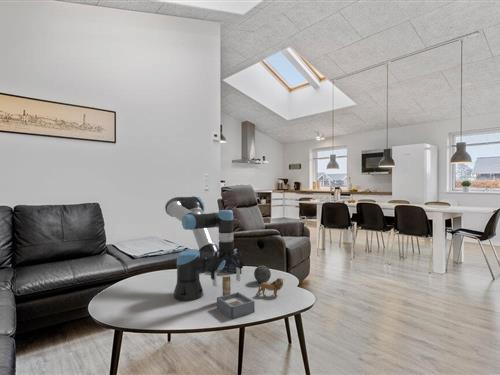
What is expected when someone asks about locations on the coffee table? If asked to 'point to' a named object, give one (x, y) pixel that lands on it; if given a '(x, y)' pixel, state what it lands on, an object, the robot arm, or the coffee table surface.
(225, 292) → the peg
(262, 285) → the lion figurine
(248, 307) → the box
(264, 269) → the decorative ball
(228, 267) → the small box
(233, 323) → the coffee table surface
